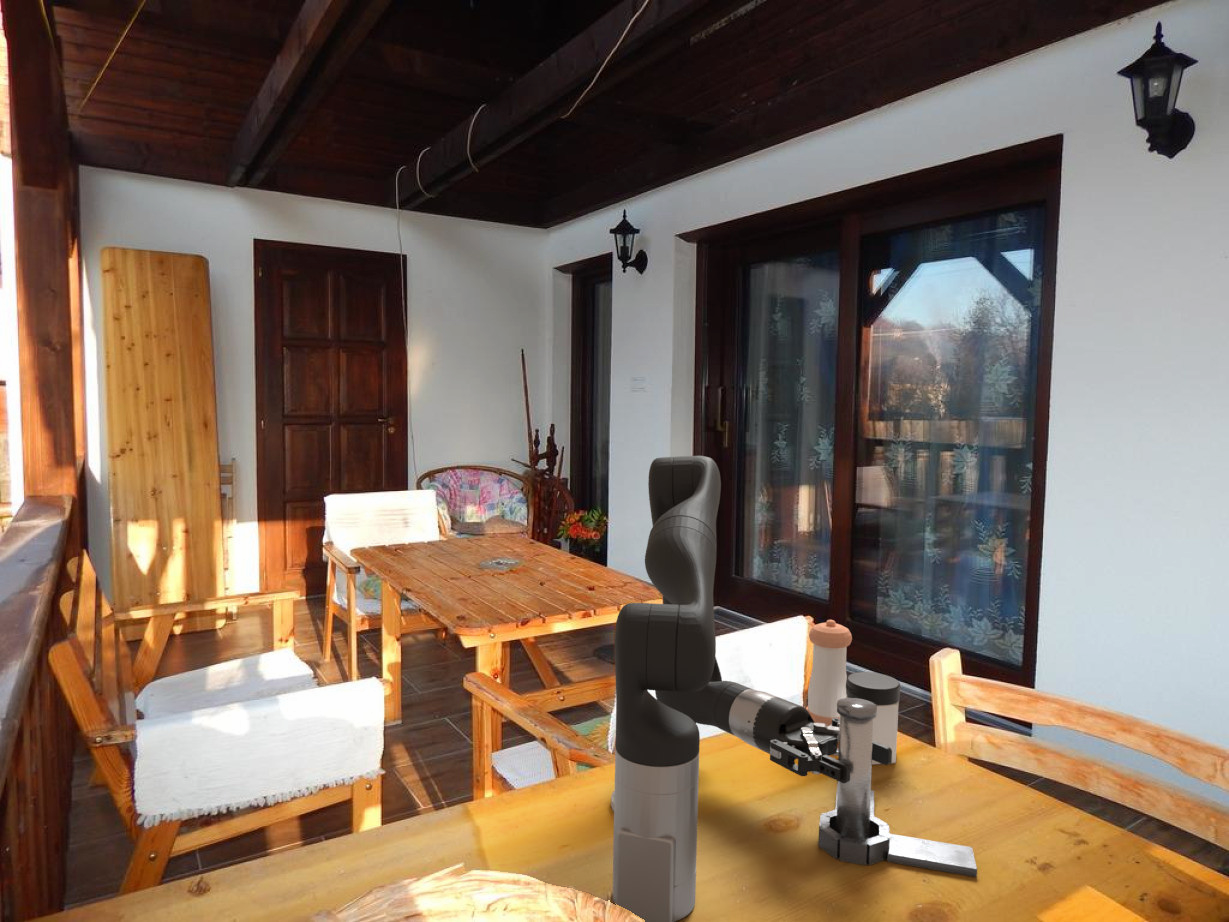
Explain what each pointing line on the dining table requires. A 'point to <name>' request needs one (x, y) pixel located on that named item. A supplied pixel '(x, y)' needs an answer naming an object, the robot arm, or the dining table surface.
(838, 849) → the box end wrench
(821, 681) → the pepper shaker
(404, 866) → the dining table surface
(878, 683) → the jar
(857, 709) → the pin
